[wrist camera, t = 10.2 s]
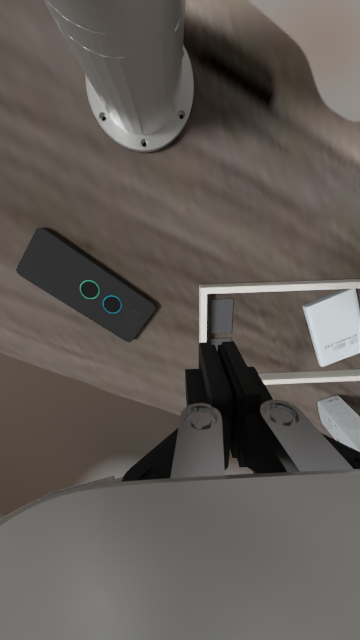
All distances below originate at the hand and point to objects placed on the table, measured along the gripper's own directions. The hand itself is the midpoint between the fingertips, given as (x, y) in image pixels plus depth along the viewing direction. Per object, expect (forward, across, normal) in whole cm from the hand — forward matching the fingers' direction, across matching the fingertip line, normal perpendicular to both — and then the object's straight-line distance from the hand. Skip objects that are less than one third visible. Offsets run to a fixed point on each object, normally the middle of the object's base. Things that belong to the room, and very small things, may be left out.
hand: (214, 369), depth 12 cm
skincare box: (+27, -28, +28) cm, 48 cm away
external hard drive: (+28, -25, +10) cm, 39 cm away
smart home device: (+28, +15, +2) cm, 32 cm away
